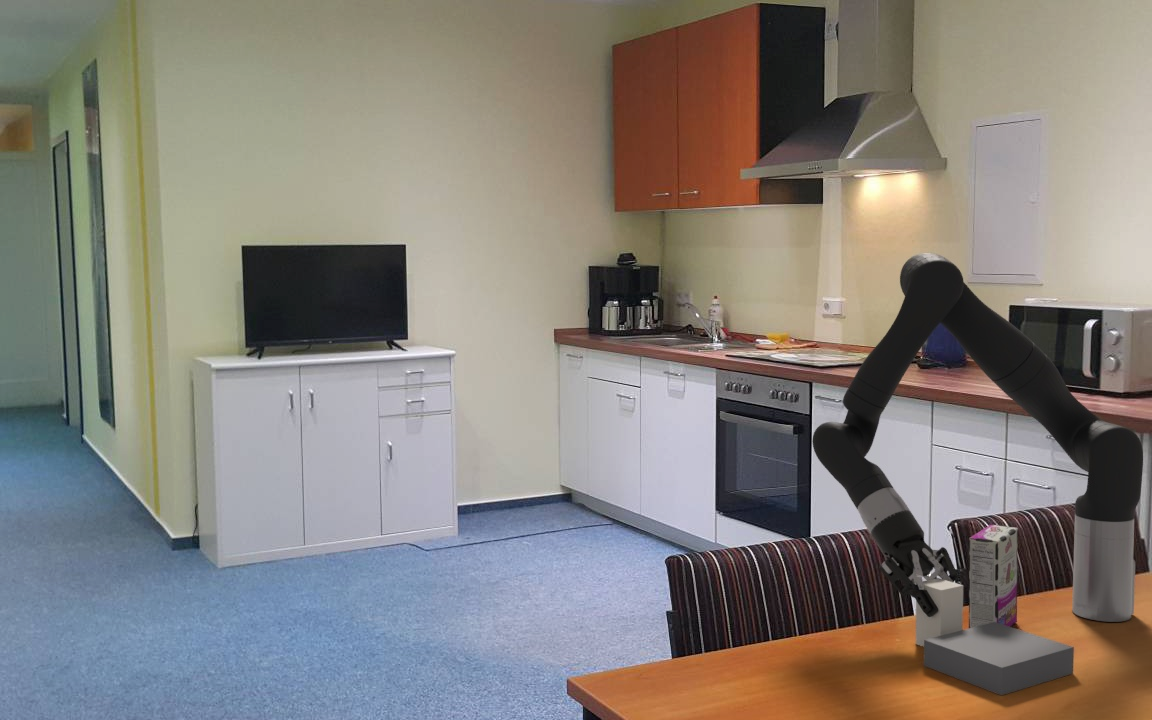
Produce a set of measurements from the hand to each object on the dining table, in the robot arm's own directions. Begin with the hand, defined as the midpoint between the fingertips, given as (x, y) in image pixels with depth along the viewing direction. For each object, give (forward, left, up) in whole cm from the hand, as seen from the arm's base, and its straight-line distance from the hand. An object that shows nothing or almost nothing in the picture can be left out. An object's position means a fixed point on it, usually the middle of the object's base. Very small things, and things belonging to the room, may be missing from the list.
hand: (946, 610), depth 177 cm
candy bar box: (-14, -2, -6) cm, 15 cm away
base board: (+1, +11, -6) cm, 12 cm away
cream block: (0, -1, -6) cm, 6 cm away
